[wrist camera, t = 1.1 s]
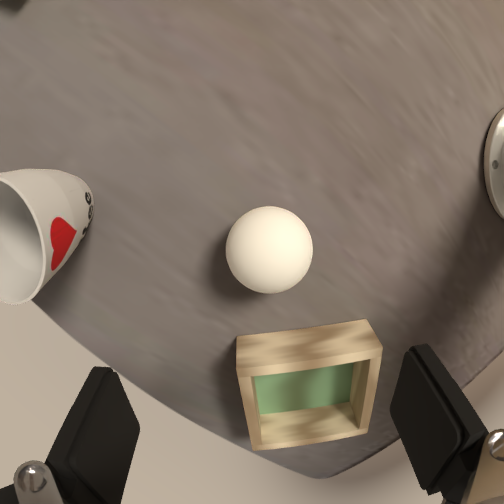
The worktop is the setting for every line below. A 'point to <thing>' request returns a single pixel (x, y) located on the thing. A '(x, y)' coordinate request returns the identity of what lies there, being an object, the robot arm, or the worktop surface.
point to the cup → (39, 228)
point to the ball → (269, 249)
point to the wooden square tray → (308, 383)
